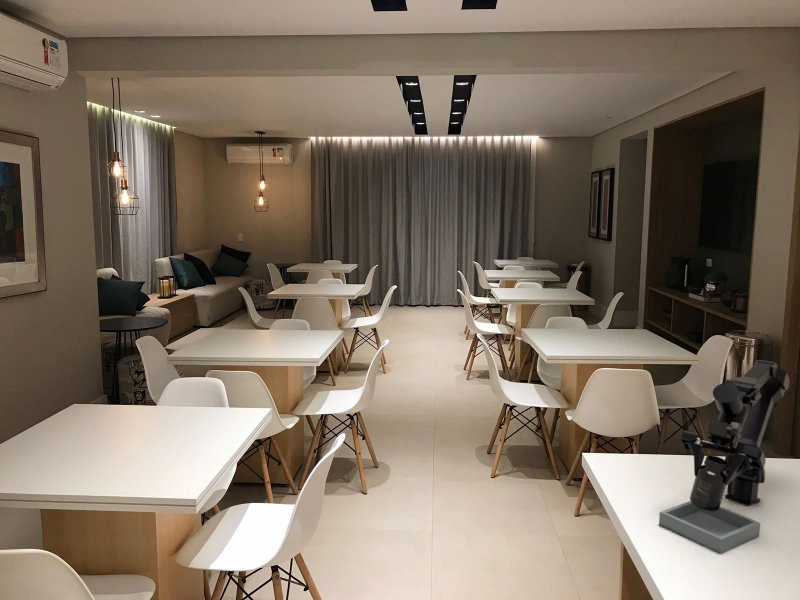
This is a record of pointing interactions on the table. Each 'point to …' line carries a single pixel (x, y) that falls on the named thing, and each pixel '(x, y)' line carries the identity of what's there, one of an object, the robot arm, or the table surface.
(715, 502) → the supplement bottle
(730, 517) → the box
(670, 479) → the table surface
